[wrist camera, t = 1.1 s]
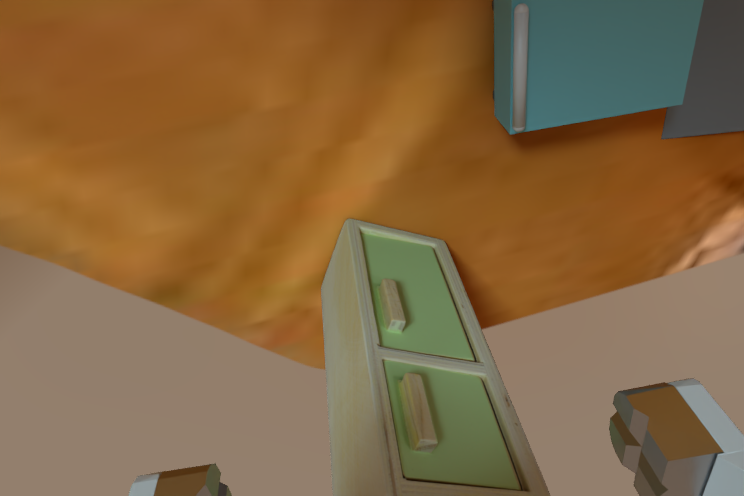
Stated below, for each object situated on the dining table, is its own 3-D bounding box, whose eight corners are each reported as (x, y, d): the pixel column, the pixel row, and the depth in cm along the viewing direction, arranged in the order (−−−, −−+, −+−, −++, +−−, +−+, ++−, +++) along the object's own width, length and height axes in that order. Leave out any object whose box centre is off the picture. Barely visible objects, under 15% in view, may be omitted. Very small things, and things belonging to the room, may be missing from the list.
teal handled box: (487, -16, 29) (515, 0, 25) (663, -47, 29) (719, -35, 25) (488, 108, 34) (513, 139, 30) (643, 81, 34) (689, 108, 30)
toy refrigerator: (452, 231, 39) (569, 508, 22) (415, 305, 42) (490, 592, 25) (349, 205, 37) (388, 491, 19) (320, 286, 40) (331, 584, 23)
